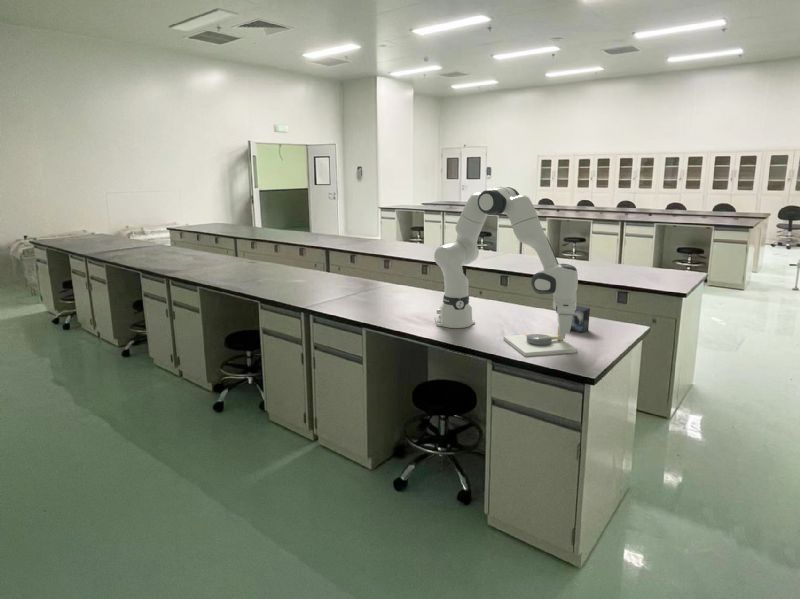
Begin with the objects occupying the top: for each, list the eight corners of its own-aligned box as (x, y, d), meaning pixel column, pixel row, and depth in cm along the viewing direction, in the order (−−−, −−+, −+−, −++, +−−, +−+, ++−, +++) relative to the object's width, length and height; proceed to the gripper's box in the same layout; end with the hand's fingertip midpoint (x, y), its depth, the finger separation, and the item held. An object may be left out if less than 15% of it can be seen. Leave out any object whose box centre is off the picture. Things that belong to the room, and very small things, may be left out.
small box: (560, 328, 237) (561, 306, 235) (567, 325, 242) (568, 304, 239) (582, 333, 230) (583, 310, 228) (589, 330, 234) (590, 307, 232)
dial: (532, 345, 208) (533, 332, 207) (522, 338, 217) (523, 325, 216) (569, 343, 211) (569, 329, 209) (557, 336, 220) (558, 323, 219)
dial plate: (503, 339, 223) (503, 336, 222) (551, 336, 227) (551, 332, 226) (524, 356, 202) (525, 352, 201) (577, 352, 205) (577, 348, 205)
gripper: (555, 298, 218) (553, 330, 222) (557, 310, 199) (555, 344, 202) (570, 299, 217) (568, 330, 220) (574, 311, 198) (572, 345, 201)
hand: (562, 337), depth 211 cm, fingers closed
